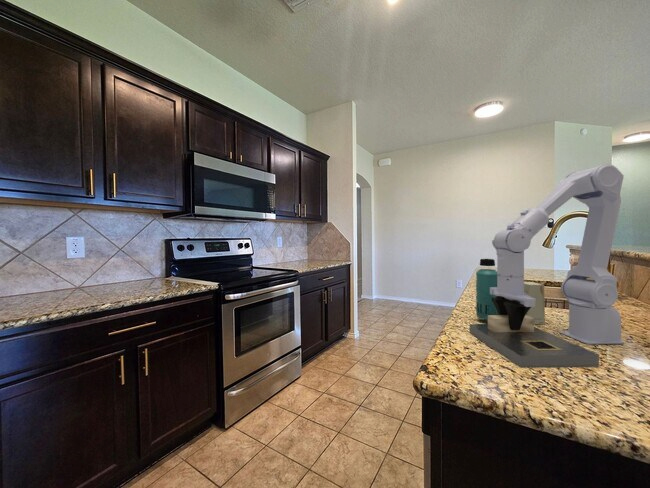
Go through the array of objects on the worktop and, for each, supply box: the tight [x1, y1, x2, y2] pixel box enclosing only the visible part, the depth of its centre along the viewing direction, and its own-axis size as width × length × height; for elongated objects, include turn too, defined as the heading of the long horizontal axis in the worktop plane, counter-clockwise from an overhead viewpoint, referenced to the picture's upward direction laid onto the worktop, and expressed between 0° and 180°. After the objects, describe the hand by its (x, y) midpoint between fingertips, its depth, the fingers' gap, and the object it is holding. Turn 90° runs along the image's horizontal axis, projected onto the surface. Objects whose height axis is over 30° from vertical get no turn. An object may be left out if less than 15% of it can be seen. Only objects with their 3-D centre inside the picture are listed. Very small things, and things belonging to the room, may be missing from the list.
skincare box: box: [524, 281, 546, 326], centre depth 84 cm, size 6×4×12 cm
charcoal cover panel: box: [469, 323, 600, 368], centre depth 65 cm, size 16×20×3 cm
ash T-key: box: [487, 315, 535, 333], centre depth 70 cm, size 10×3×6 cm, turn 89°
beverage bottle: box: [475, 258, 498, 321], centre depth 84 cm, size 6×7×20 cm
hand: (510, 327), depth 70 cm, fingers closed on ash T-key, 3 cm apart
